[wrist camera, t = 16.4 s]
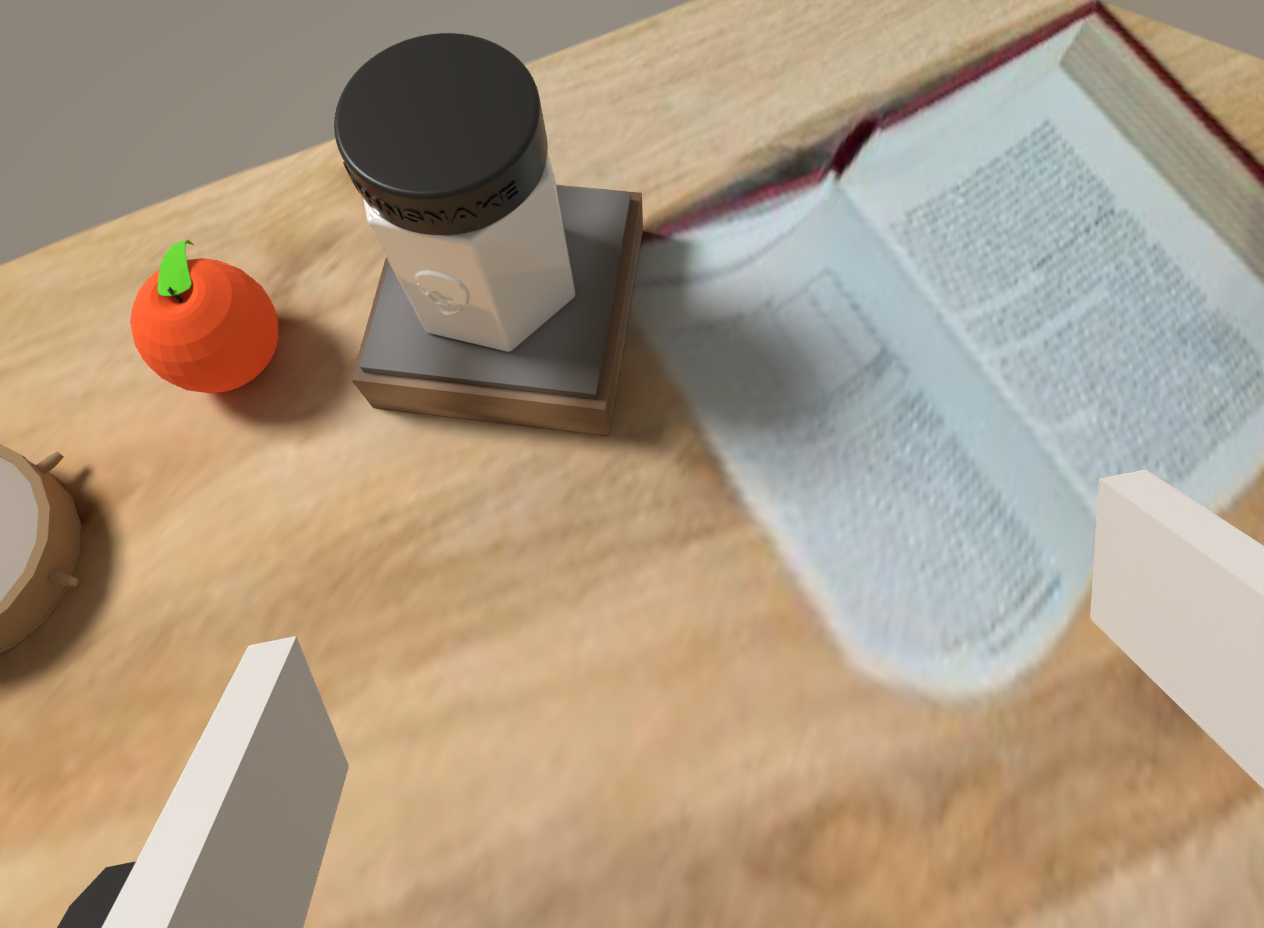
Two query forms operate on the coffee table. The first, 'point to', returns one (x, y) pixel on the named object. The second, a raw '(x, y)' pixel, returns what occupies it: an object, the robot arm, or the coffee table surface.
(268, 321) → the clementine
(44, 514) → the alarm clock
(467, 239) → the jar
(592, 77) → the coffee table surface
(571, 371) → the stand
